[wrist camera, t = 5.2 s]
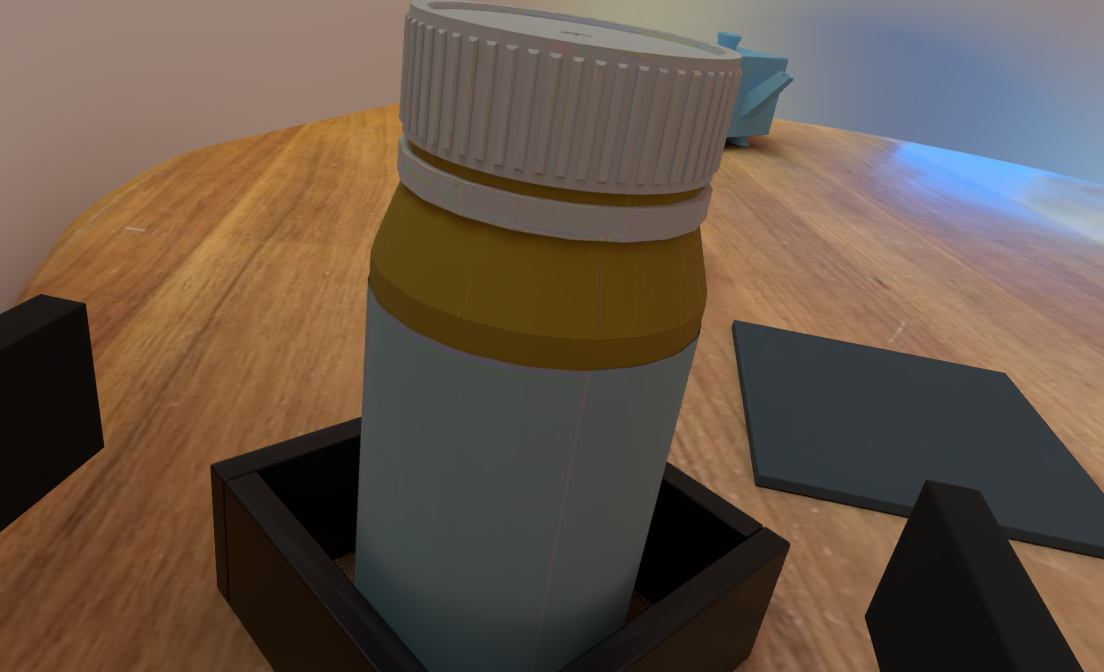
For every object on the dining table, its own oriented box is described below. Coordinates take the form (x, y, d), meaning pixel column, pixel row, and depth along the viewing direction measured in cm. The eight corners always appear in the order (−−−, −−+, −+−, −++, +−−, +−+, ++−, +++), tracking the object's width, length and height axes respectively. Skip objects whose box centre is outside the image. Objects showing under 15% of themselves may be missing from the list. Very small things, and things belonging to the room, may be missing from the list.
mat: (754, 485, 28) (758, 474, 28) (731, 327, 41) (733, 319, 41) (1150, 568, 27) (1157, 557, 27) (1001, 381, 40) (1005, 372, 40)
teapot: (727, 163, 78) (756, 44, 73) (599, 119, 89) (617, 13, 84) (807, 154, 88) (837, 50, 83) (683, 116, 99) (704, 22, 94)
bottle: (386, 779, 16) (448, 34, 10) (332, 554, 22) (349, -17, 15) (663, 697, 19) (855, 80, 13) (554, 517, 25) (647, 22, 18)
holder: (216, 587, 20) (209, 463, 19) (508, 463, 27) (522, 364, 25) (447, 924, 14) (469, 787, 12) (750, 656, 21) (792, 543, 19)
